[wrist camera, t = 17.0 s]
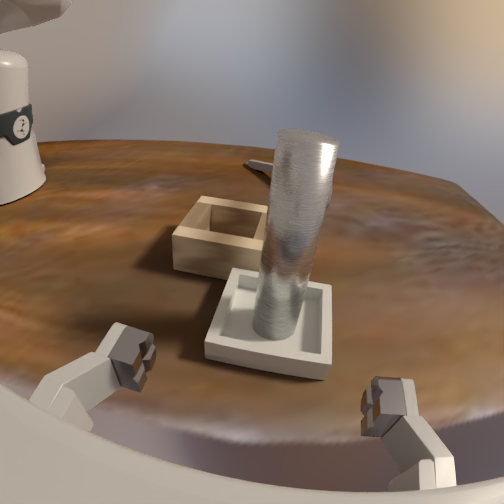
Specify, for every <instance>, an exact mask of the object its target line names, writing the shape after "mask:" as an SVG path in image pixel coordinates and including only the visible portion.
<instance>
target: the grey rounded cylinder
mask: <svg viewBox="0 0 504 504" xmlns="http://www.w3.org/2000/svg"><path fill="white" fill-rule="evenodd" d="M338 147H339V142H338V141H337V140H336V139H334V138H332V137H329V136H327V135H324V134H320V133H316V132H312V131H305V130H297V129H284V130H279V131H278V132H277V140H276V148H275V156H274V163H273V171H272V179H271V186H270V194H269V201H268V209H267V216H266V224H265V231H264V238H263V246H262V253H261V260H260V268H259V275H258V282H257V289H256V297H255V304H254V311H253V318H252V326H253V329H254V330H255V332H256V333H257V334H258V335H260V336H261V337H263V338H265V339H268V340H273V341H280V340H285V339H287V338H289V337H291V336H292V335H293V334H294V332H295V330H296V326H297V323H298V319H299V315H300V312H301V308H302V304H303V300H304V297H305V293H306V289H307V285H308V281H309V277H310V273H311V269H312V265H313V261H314V257H315V253H316V249H317V245H318V240H319V236H320V232H321V228H322V223H323V219H324V214H325V210H326V205H327V201H328V196H329V192H330V187H331V182H332V177H333V172H334V167H335V162H336V157H337V152H338Z"/></svg>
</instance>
